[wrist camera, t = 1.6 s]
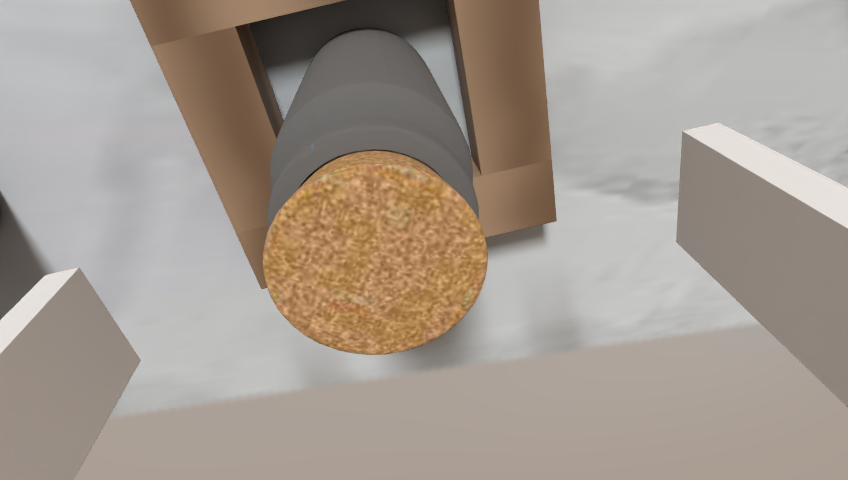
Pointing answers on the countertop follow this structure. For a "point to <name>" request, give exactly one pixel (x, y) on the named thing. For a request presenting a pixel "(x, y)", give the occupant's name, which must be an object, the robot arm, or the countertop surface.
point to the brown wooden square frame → (261, 121)
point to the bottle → (372, 202)
